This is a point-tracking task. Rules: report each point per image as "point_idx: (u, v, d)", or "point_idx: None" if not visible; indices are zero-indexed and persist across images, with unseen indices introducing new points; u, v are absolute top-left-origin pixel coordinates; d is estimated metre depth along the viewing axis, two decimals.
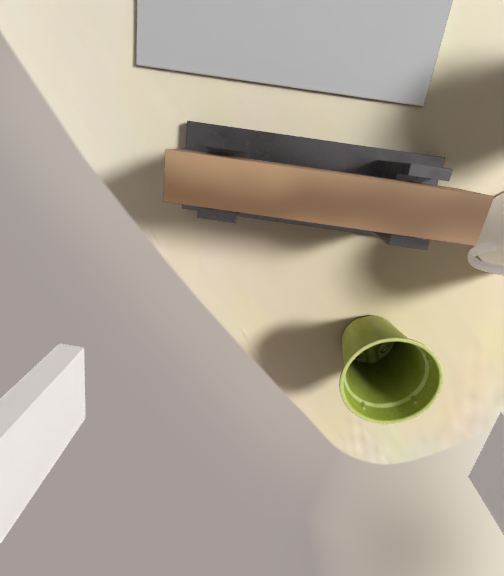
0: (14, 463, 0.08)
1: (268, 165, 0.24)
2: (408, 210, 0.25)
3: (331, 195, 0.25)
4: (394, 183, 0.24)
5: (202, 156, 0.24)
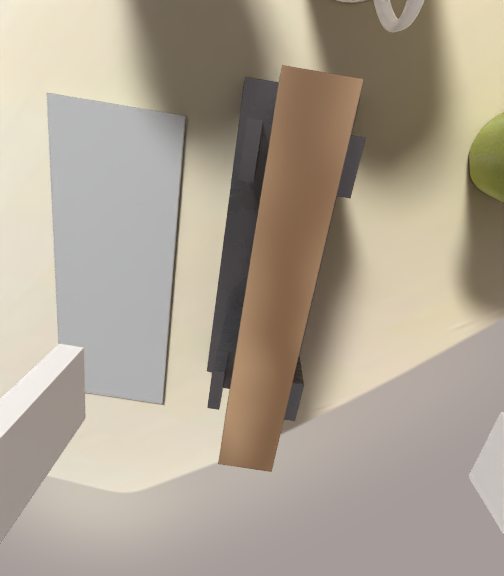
0: (14, 463, 0.08)
1: (234, 373, 0.20)
2: (296, 200, 0.17)
3: (271, 304, 0.19)
4: (258, 225, 0.17)
5: (224, 433, 0.22)
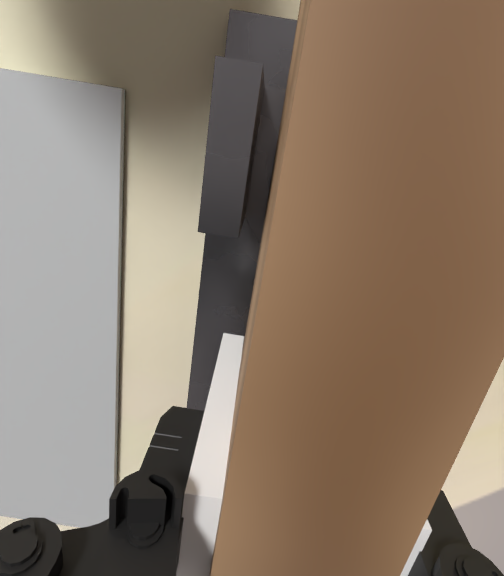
0: None
1: None
2: (381, 328, 0.05)
3: None
4: (247, 396, 0.05)
5: None
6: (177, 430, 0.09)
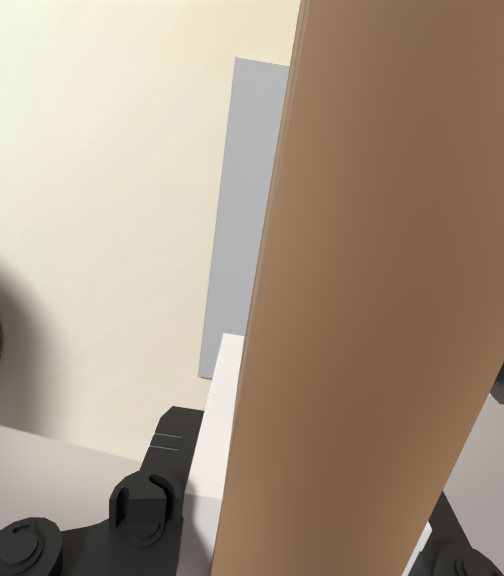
0: None
1: None
2: (381, 330, 0.05)
3: None
4: (247, 399, 0.05)
5: None
6: (177, 430, 0.09)
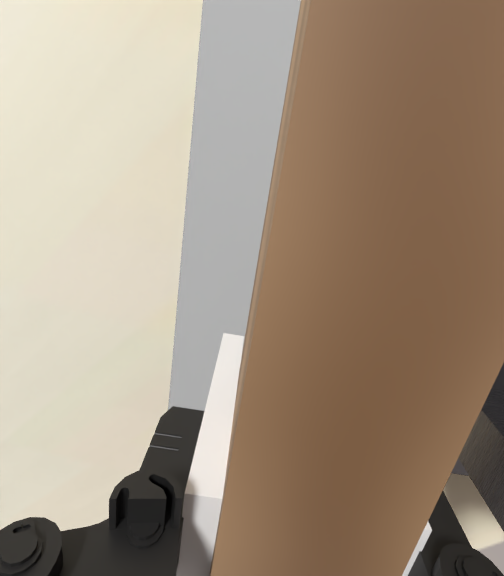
0: None
1: None
2: (381, 330, 0.05)
3: None
4: (247, 399, 0.05)
5: None
6: (177, 430, 0.09)
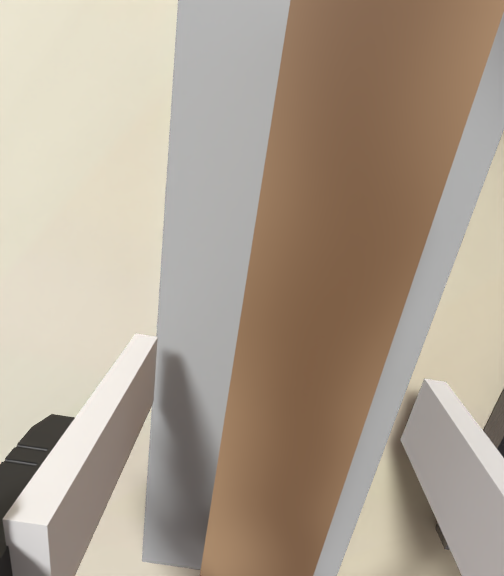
0: (118, 434, 0.09)
1: (204, 562, 0.11)
2: (331, 264, 0.07)
3: (273, 459, 0.09)
4: (244, 314, 0.08)
5: None
6: (45, 442, 0.08)
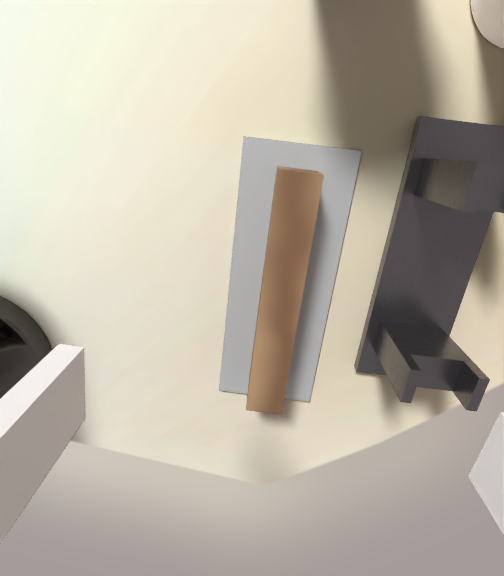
0: (14, 463, 0.08)
1: (255, 347, 0.32)
2: (289, 241, 0.28)
3: (277, 303, 0.30)
4: (267, 256, 0.29)
5: (249, 388, 0.34)
6: None
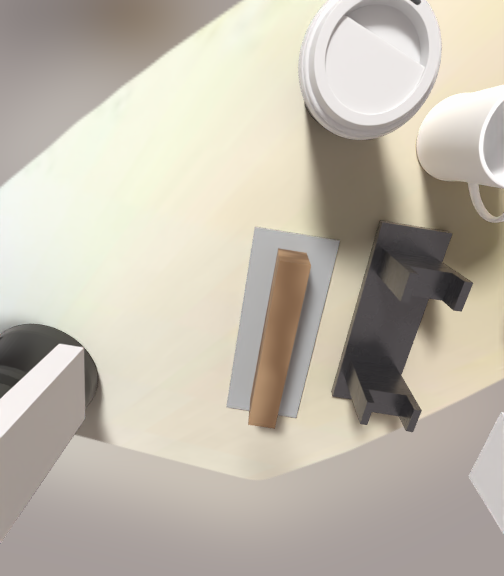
0: (14, 463, 0.08)
1: (257, 379, 0.44)
2: (285, 308, 0.40)
3: (274, 349, 0.42)
4: (269, 317, 0.41)
5: (252, 409, 0.45)
6: None
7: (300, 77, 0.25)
